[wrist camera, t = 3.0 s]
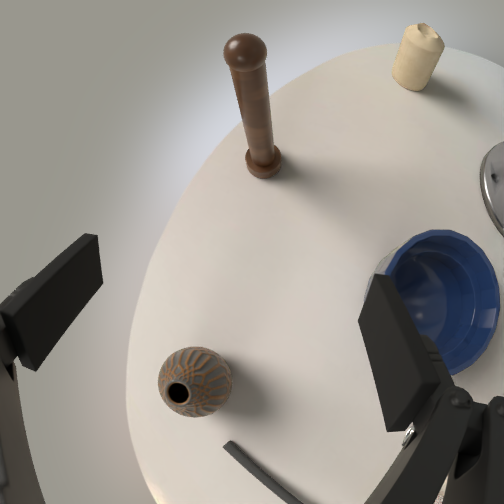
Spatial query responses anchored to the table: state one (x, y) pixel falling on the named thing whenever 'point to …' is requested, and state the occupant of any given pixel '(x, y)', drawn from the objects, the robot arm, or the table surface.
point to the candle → (417, 56)
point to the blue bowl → (446, 293)
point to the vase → (195, 382)
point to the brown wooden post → (253, 102)
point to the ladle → (260, 474)
